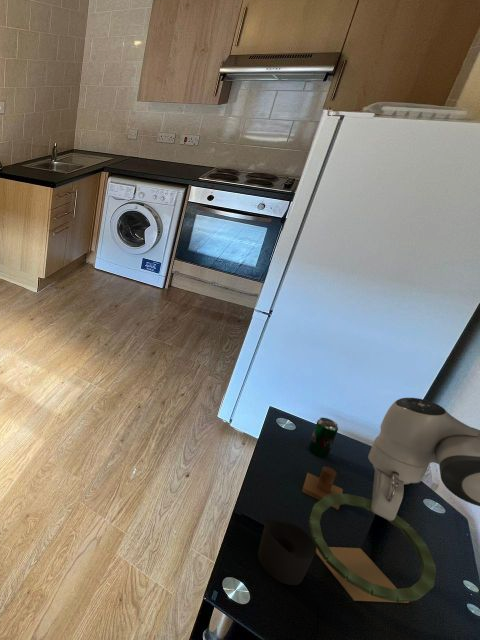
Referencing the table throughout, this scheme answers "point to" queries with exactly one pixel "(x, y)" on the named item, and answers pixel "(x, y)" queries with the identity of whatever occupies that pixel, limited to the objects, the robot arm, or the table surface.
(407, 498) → the table surface
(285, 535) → the pen holder
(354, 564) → the mat
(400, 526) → the ring
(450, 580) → the table surface
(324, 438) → the soda can
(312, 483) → the peg stand
